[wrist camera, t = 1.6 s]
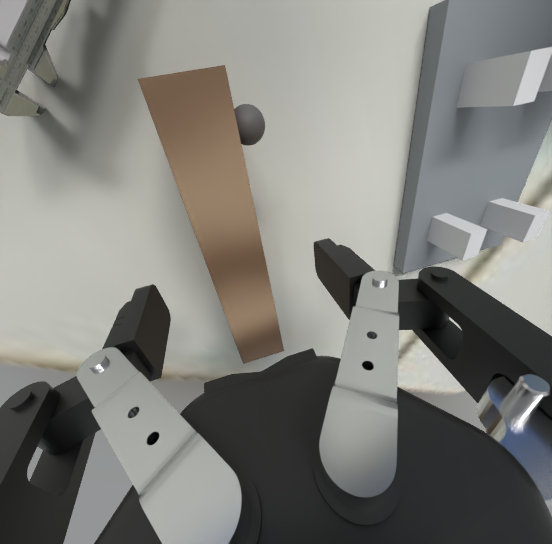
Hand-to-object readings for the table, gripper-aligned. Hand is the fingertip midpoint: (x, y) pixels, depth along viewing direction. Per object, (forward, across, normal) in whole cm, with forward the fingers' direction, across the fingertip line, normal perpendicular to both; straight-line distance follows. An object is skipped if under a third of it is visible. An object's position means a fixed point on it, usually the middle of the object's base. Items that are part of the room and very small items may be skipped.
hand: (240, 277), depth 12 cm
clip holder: (+9, -22, 0) cm, 24 cm away
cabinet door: (+9, 0, 0) cm, 9 cm away
